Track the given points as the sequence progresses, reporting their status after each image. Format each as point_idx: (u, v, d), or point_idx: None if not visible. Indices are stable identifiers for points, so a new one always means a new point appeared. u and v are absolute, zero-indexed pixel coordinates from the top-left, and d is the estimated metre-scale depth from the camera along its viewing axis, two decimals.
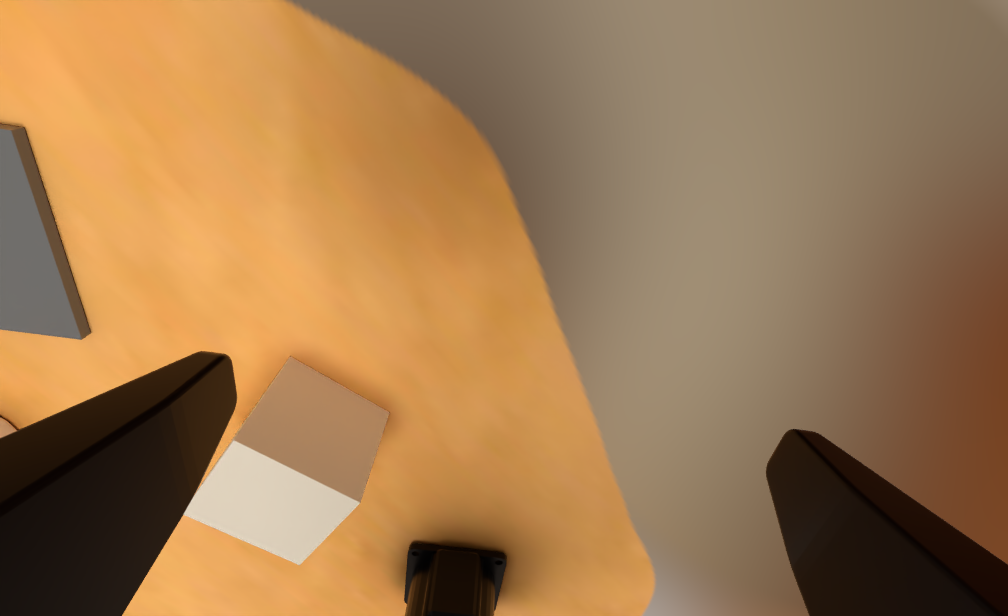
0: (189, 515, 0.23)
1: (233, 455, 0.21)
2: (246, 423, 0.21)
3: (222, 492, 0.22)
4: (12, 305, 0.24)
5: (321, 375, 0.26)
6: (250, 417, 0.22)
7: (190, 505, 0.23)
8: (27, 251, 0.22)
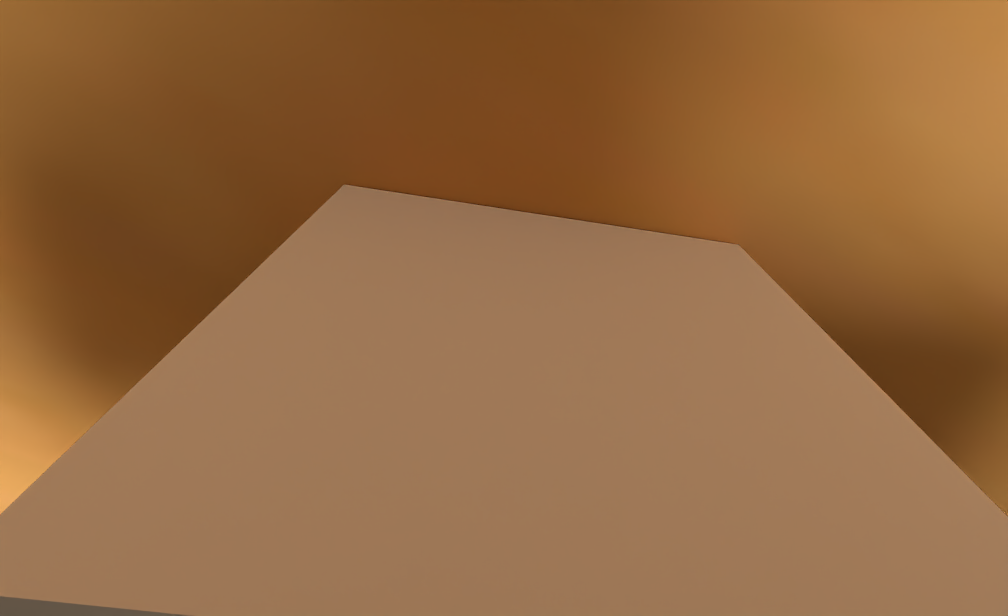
0: None
1: None
2: (108, 423, 0.03)
3: None
4: None
5: (468, 207, 0.07)
6: (147, 383, 0.03)
7: None
8: None
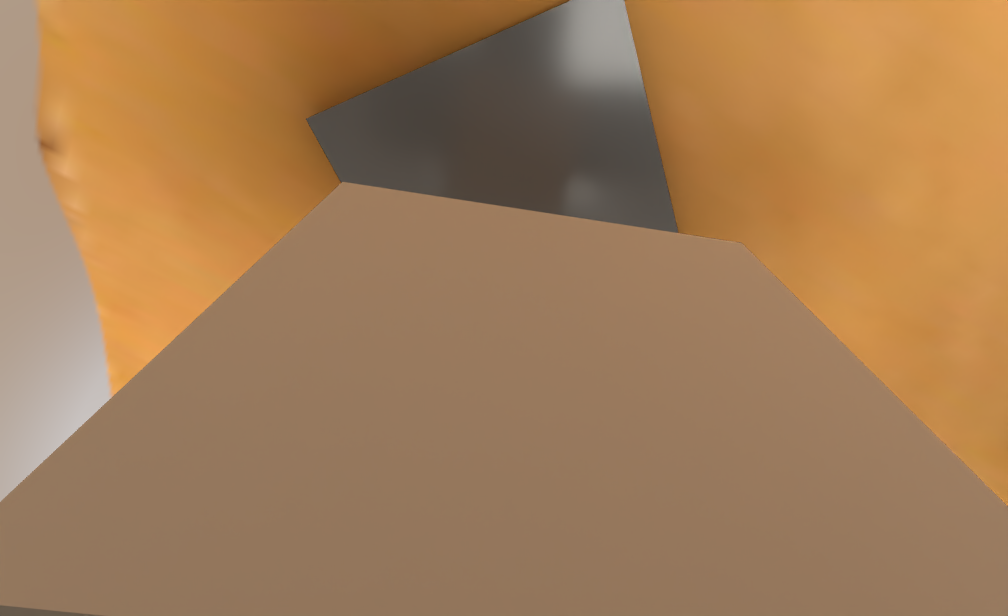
0: None
1: None
2: (97, 423, 0.03)
3: None
4: None
5: (468, 205, 0.07)
6: (139, 383, 0.03)
7: None
8: (629, 176, 0.16)
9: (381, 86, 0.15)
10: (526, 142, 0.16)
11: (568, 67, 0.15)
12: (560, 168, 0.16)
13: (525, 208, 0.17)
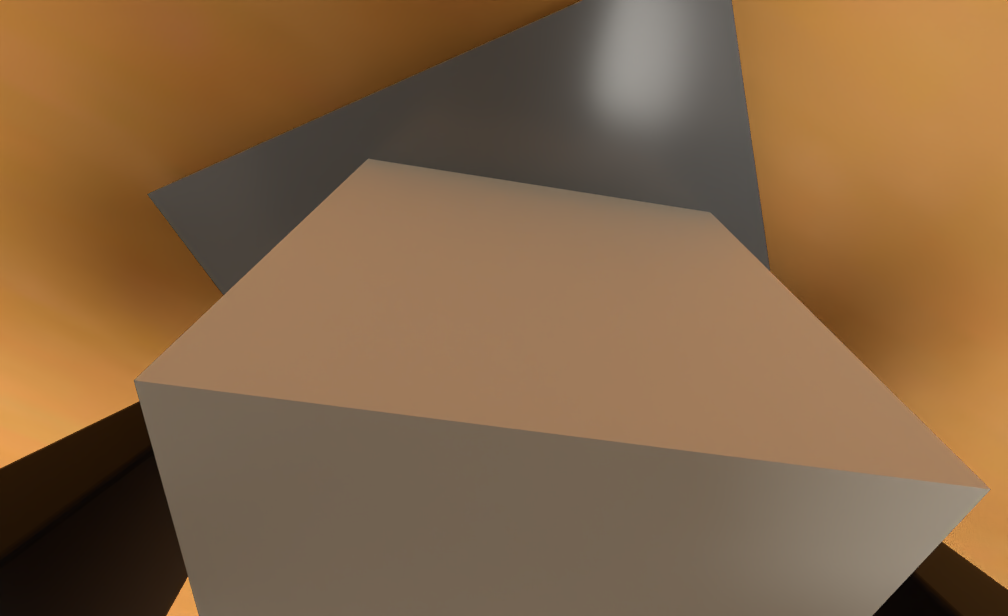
0: None
1: (209, 477, 0.04)
2: (222, 305, 0.04)
3: None
4: None
5: (475, 178, 0.08)
6: (243, 284, 0.04)
7: None
8: None
9: (274, 139, 0.08)
10: None
11: (615, 107, 0.08)
12: None
13: None
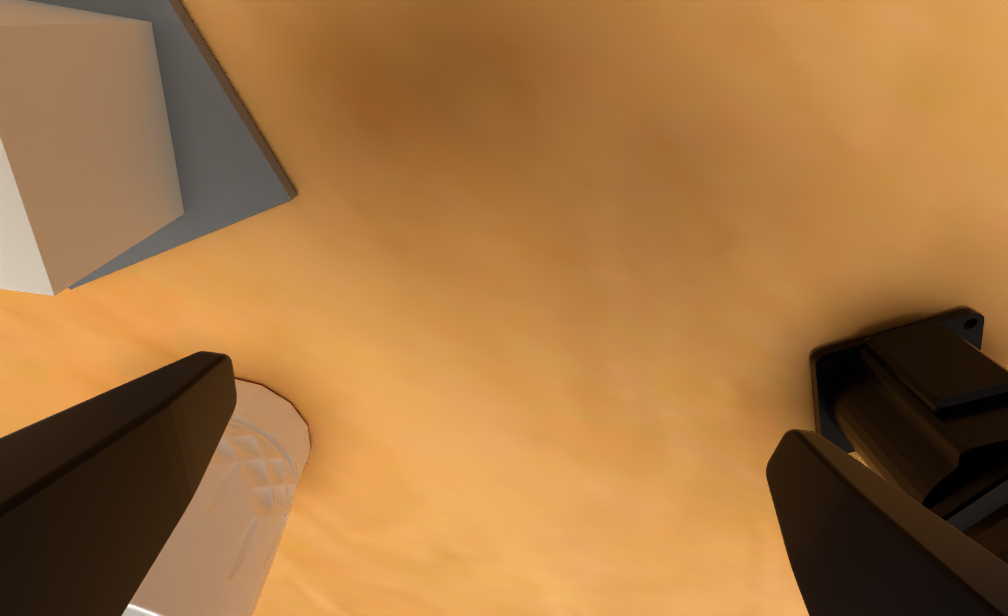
0: None
1: None
2: None
3: None
4: (198, 187, 0.17)
5: None
6: None
7: None
8: (178, 77, 0.16)
9: None
10: None
11: None
12: None
13: None
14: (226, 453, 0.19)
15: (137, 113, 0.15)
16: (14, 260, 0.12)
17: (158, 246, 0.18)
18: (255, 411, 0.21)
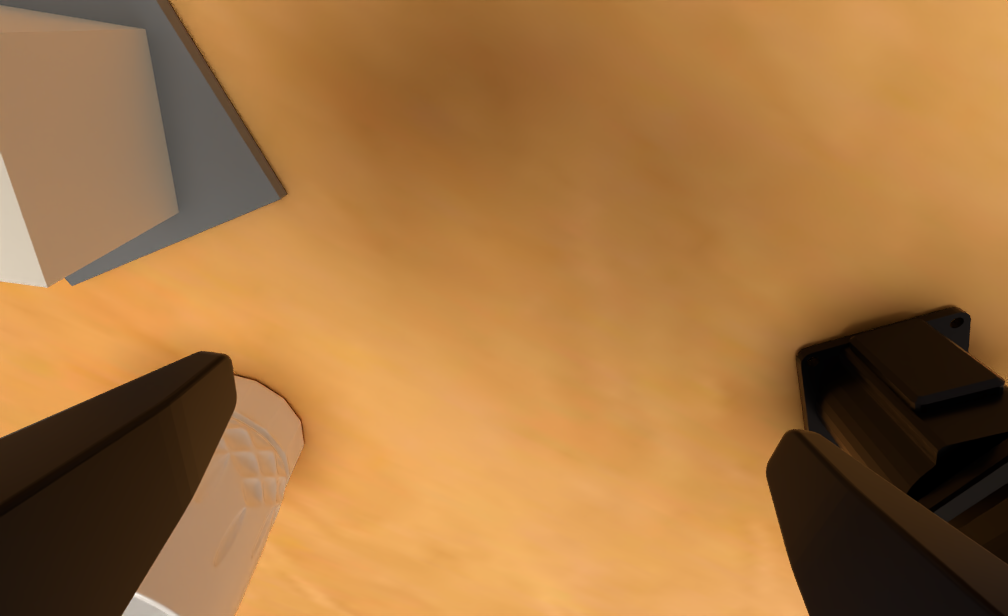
0: None
1: None
2: None
3: None
4: (191, 187, 0.18)
5: (0, 5, 0.15)
6: None
7: None
8: (171, 81, 0.16)
9: None
10: None
11: None
12: None
13: None
14: None
15: (131, 115, 0.15)
16: (9, 253, 0.13)
17: (154, 244, 0.19)
18: (248, 406, 0.22)
